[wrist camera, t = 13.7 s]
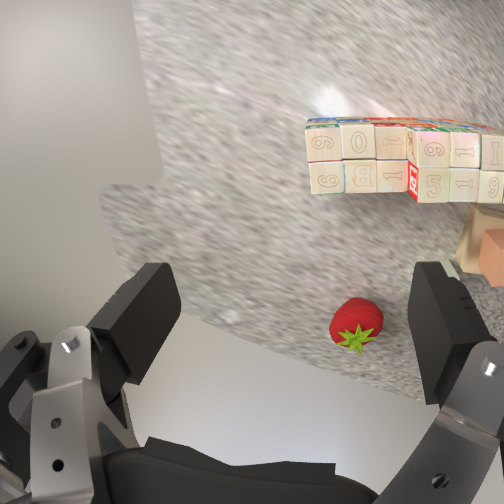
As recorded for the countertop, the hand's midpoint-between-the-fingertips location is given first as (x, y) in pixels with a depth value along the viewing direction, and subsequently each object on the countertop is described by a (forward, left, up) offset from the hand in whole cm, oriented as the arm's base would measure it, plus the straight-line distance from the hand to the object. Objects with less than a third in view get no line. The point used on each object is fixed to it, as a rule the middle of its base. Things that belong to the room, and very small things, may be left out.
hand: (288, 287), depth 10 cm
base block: (+12, +24, -28) cm, 39 cm away
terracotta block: (+12, +24, -24) cm, 36 cm away
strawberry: (+22, +5, -28) cm, 36 cm away
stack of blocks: (0, +10, -28) cm, 30 cm away
